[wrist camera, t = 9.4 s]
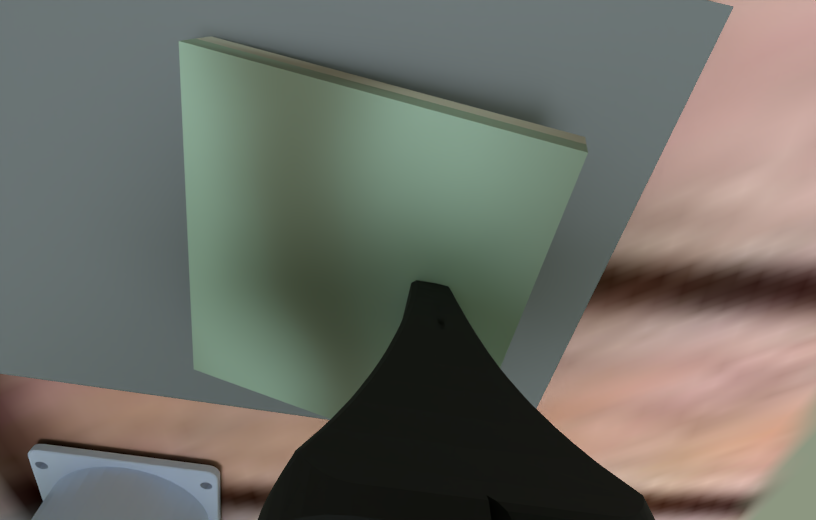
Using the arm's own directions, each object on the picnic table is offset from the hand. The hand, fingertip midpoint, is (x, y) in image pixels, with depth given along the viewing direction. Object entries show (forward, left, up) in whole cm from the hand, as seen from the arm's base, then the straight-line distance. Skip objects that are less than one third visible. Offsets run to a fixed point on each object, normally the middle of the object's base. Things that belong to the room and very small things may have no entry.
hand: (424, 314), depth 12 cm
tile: (0, +2, -1) cm, 2 cm away
